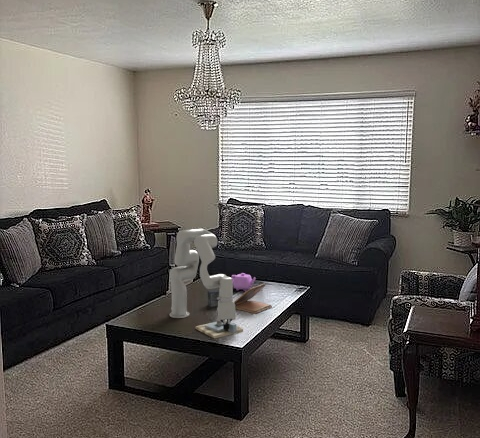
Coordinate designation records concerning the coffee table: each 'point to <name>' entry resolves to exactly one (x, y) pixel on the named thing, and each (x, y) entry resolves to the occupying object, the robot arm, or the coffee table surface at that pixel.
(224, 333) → the post fixture
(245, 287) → the teapot
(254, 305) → the case
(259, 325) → the coffee table surface
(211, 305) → the small box
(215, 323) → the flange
